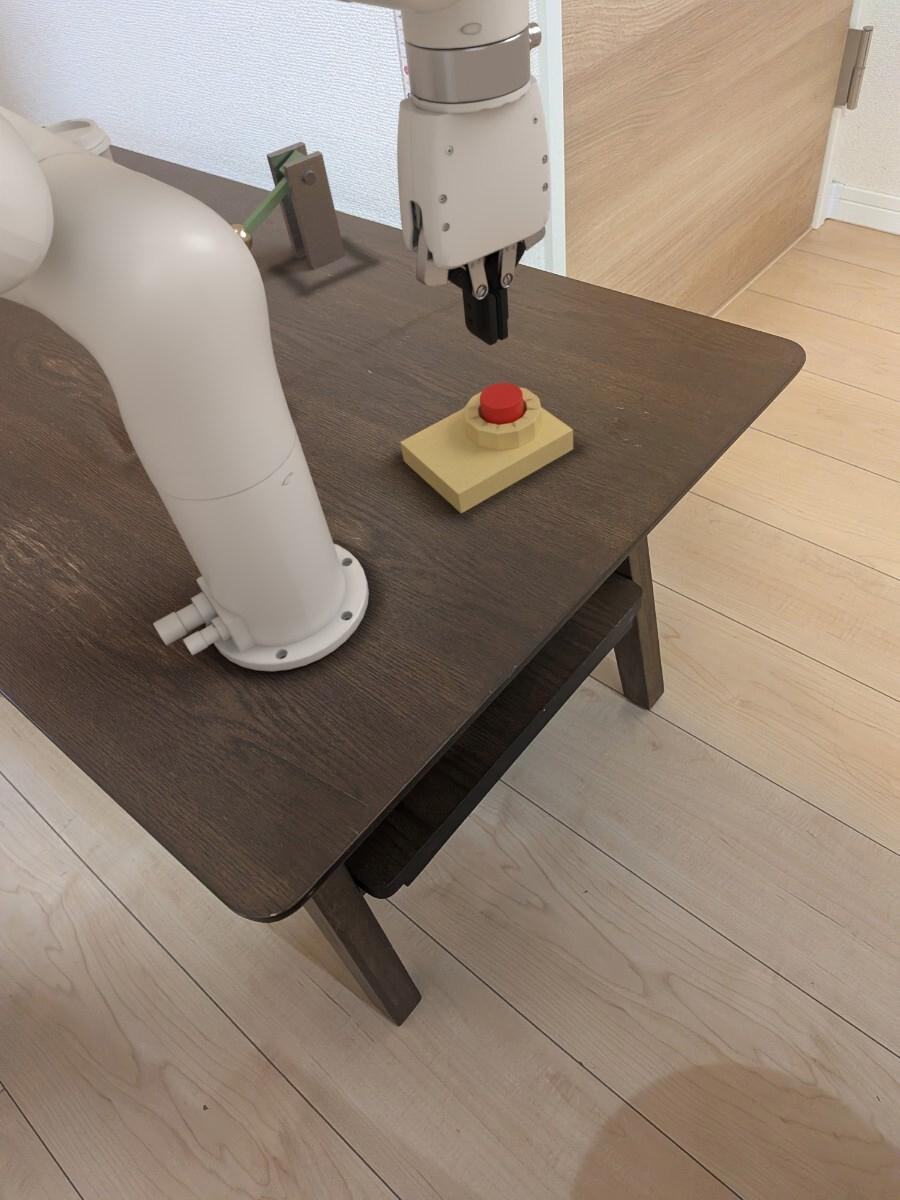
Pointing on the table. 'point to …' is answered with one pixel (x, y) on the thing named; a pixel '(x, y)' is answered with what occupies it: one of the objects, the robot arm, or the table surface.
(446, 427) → the button box
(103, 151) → the coffee cup
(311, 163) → the bracket
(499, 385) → the button
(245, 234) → the lever
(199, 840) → the table surface
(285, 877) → the table surface
